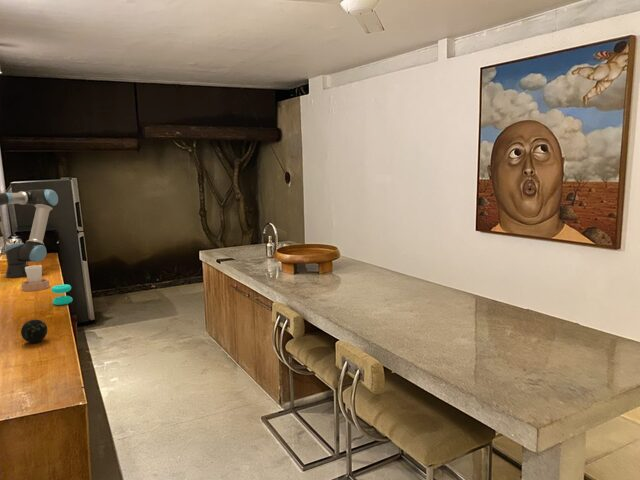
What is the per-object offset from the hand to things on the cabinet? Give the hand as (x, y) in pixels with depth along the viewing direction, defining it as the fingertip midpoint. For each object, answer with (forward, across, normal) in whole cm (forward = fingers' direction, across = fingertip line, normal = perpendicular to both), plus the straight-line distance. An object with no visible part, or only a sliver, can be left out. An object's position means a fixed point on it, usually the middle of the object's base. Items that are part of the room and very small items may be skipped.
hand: (0, 248), depth 319 cm
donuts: (+26, +68, +36) cm, 80 cm away
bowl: (+26, +19, +18) cm, 37 cm away
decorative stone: (+23, +132, +28) cm, 137 cm away
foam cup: (+25, +19, +18) cm, 36 cm away
